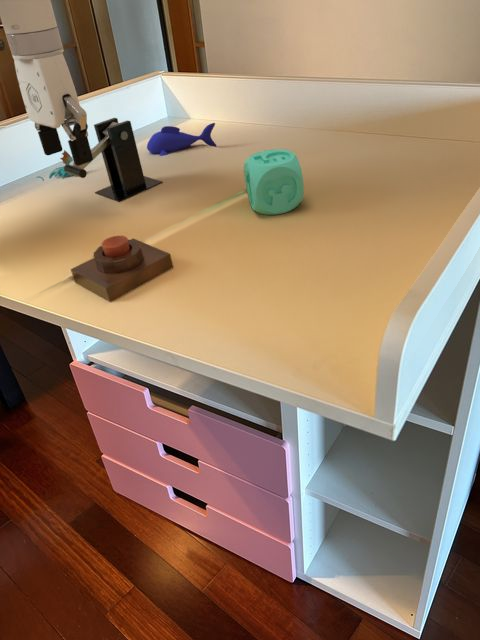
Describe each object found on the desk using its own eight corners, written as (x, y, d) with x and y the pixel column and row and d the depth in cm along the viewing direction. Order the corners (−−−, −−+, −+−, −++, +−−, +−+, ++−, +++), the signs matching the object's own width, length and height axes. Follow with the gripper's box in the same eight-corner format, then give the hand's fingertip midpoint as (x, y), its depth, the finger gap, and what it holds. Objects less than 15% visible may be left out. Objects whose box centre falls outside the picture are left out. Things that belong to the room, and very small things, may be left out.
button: (114, 261, 77) (110, 250, 76) (100, 254, 79) (96, 243, 78) (135, 250, 78) (132, 239, 77) (121, 244, 81) (117, 233, 80)
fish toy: (151, 169, 119) (143, 141, 113) (148, 146, 123) (140, 119, 117) (221, 157, 120) (217, 129, 114) (215, 135, 124) (211, 107, 118)
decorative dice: (247, 200, 97) (241, 154, 92) (292, 191, 98) (288, 145, 93) (257, 219, 91) (251, 170, 86) (305, 209, 92) (302, 160, 87)
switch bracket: (120, 207, 101) (100, 134, 93) (96, 198, 105) (75, 128, 97) (164, 187, 106) (148, 117, 98) (139, 179, 111) (122, 112, 103)
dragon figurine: (46, 188, 109) (77, 161, 110) (26, 167, 112) (57, 141, 113) (62, 206, 115) (92, 181, 116) (44, 186, 118) (73, 162, 119)
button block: (110, 302, 75) (101, 276, 73) (75, 282, 81) (66, 258, 78) (173, 267, 81) (167, 242, 79) (136, 251, 86) (130, 227, 84)
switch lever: (84, 182, 95) (75, 170, 93) (69, 176, 98) (60, 165, 96) (131, 135, 99) (124, 124, 97) (115, 132, 102) (108, 120, 100)
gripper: (-14, 45, 87) (24, 155, 98) (41, 52, 77) (76, 174, 88) (30, 36, 91) (62, 143, 102) (88, 42, 81) (116, 160, 92)
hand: (68, 157), depth 95 cm, fingers open, 9 cm apart
